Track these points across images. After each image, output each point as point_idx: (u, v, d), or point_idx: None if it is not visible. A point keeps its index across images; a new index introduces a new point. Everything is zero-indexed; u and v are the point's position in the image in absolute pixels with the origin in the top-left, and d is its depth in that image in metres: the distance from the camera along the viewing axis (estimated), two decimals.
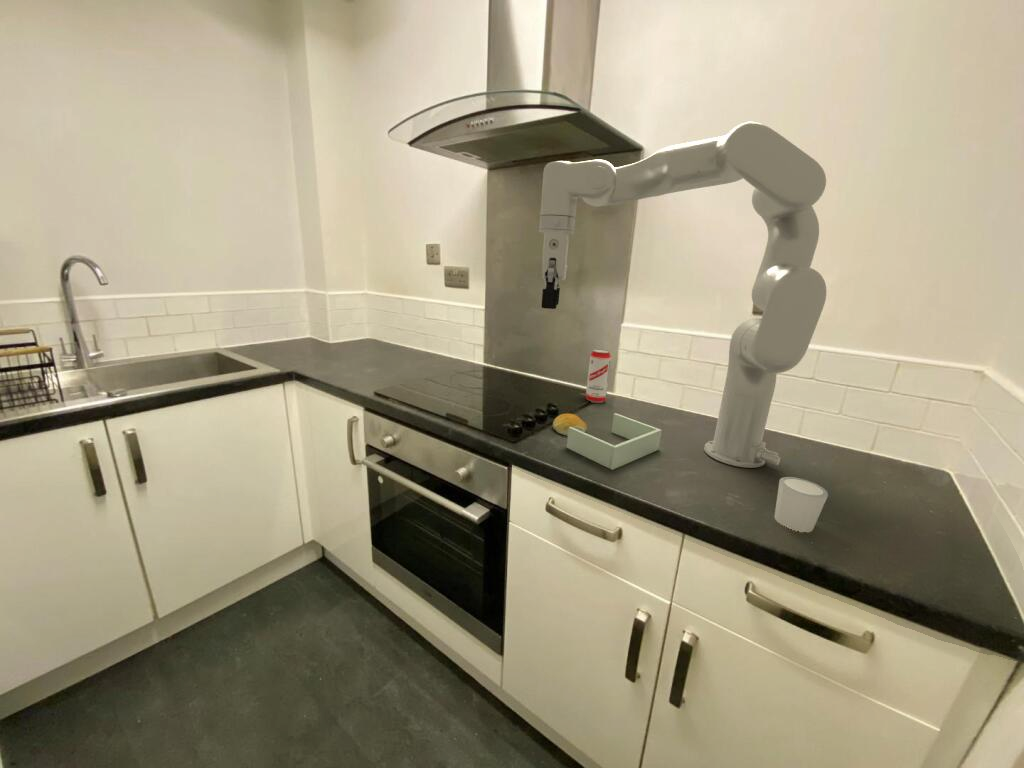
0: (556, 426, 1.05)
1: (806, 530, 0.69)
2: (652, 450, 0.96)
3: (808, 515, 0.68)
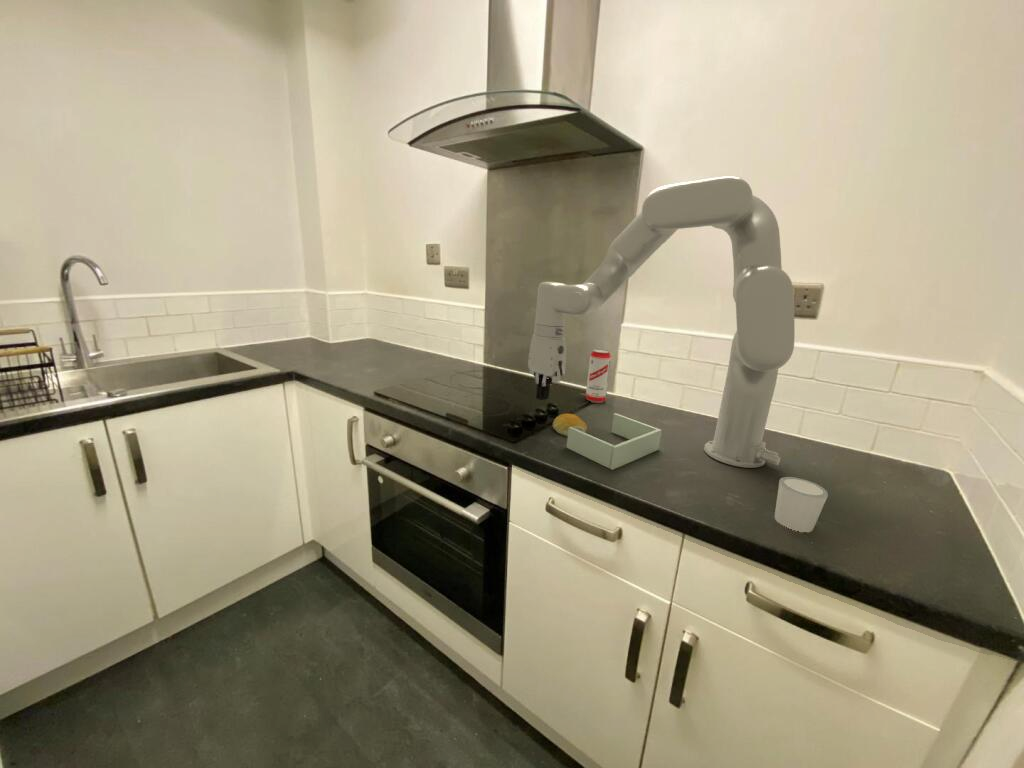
0: (556, 426, 1.04)
1: (806, 530, 0.69)
2: (652, 450, 0.96)
3: (808, 515, 0.68)
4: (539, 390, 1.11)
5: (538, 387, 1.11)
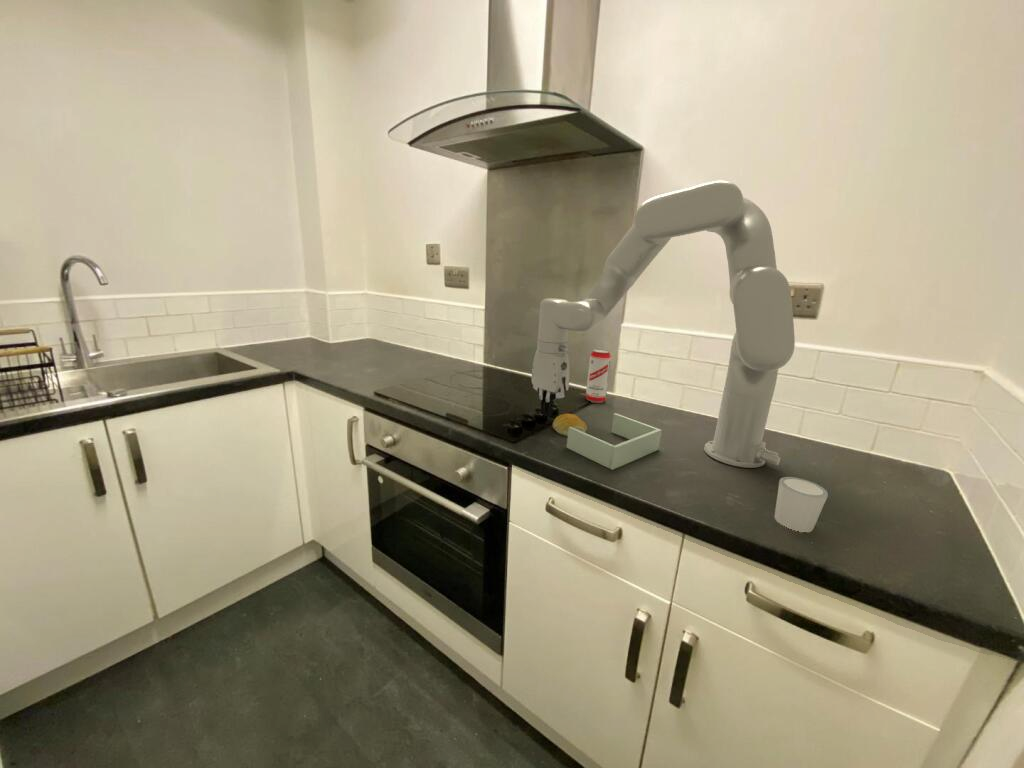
0: (556, 426, 1.04)
1: (806, 530, 0.69)
2: (652, 450, 0.96)
3: (808, 515, 0.68)
4: (543, 406, 1.11)
5: (542, 403, 1.11)
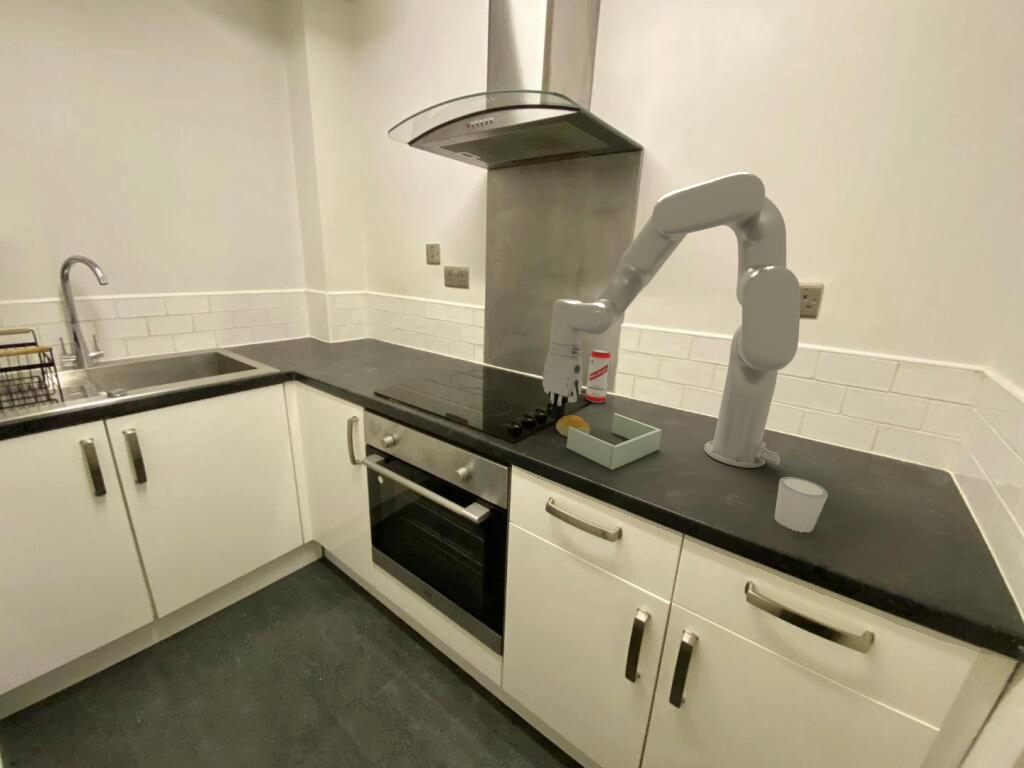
0: (559, 428, 1.03)
1: (806, 530, 0.69)
2: (652, 450, 0.96)
3: (808, 515, 0.68)
4: (554, 410, 1.08)
5: (553, 407, 1.08)
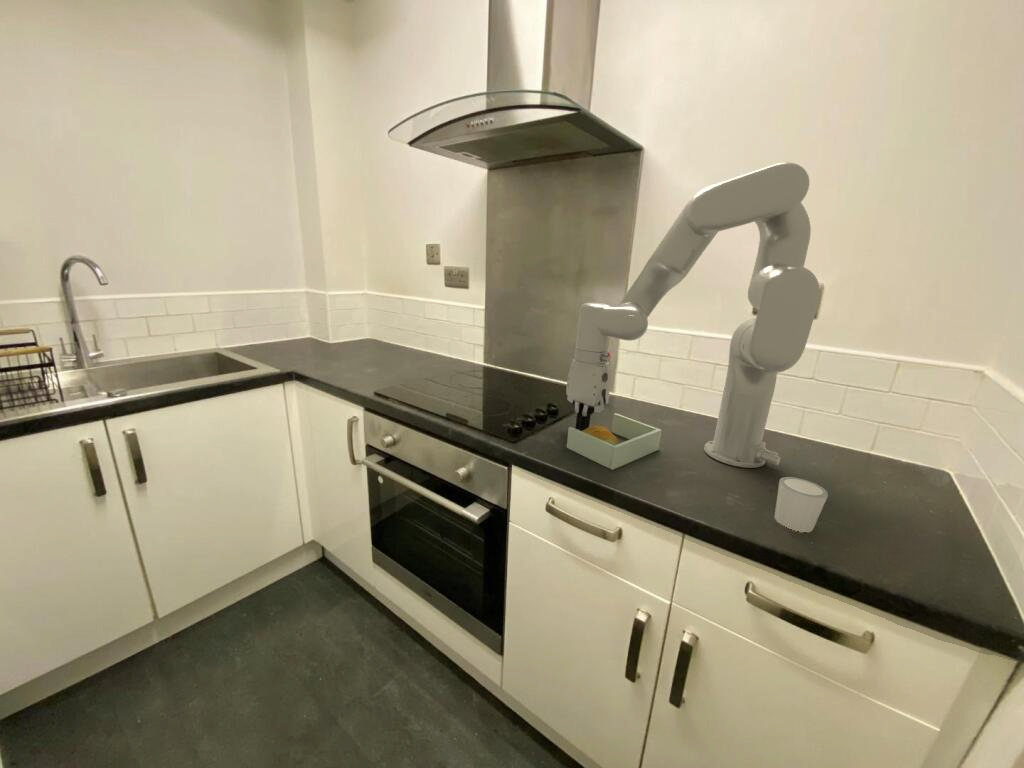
0: None
1: (806, 530, 0.69)
2: (652, 450, 0.96)
3: (808, 515, 0.68)
4: (579, 420, 1.01)
5: (578, 417, 1.02)
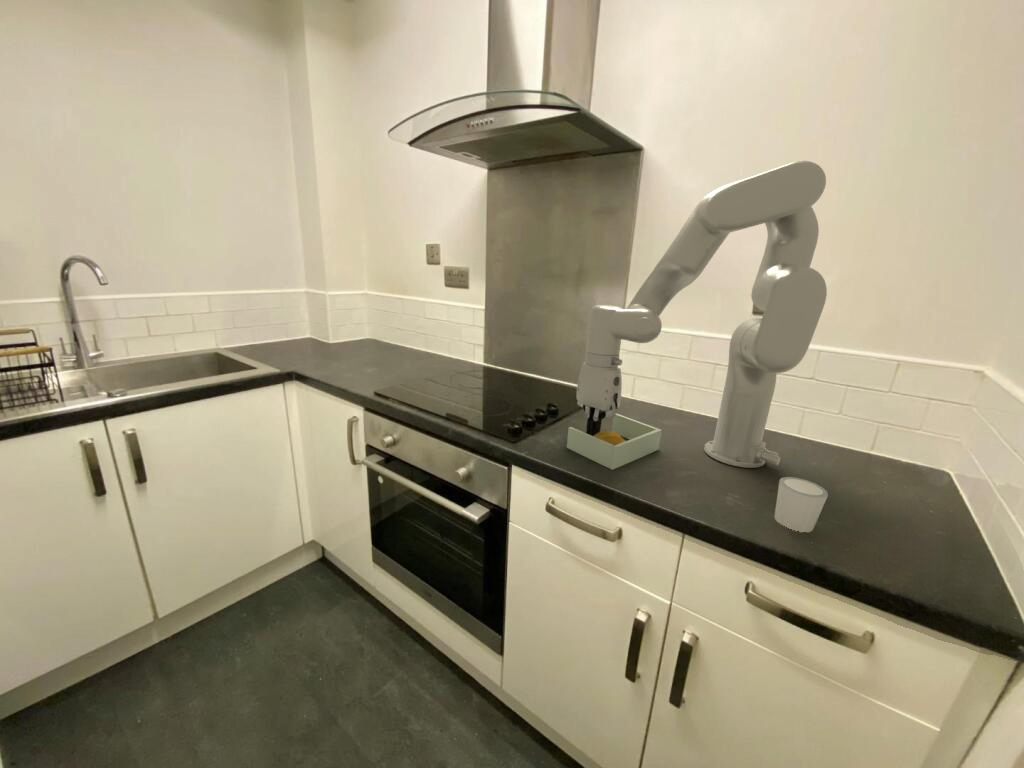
0: None
1: (806, 530, 0.69)
2: (652, 450, 0.96)
3: (808, 515, 0.68)
4: (590, 425, 0.99)
5: (589, 422, 0.99)
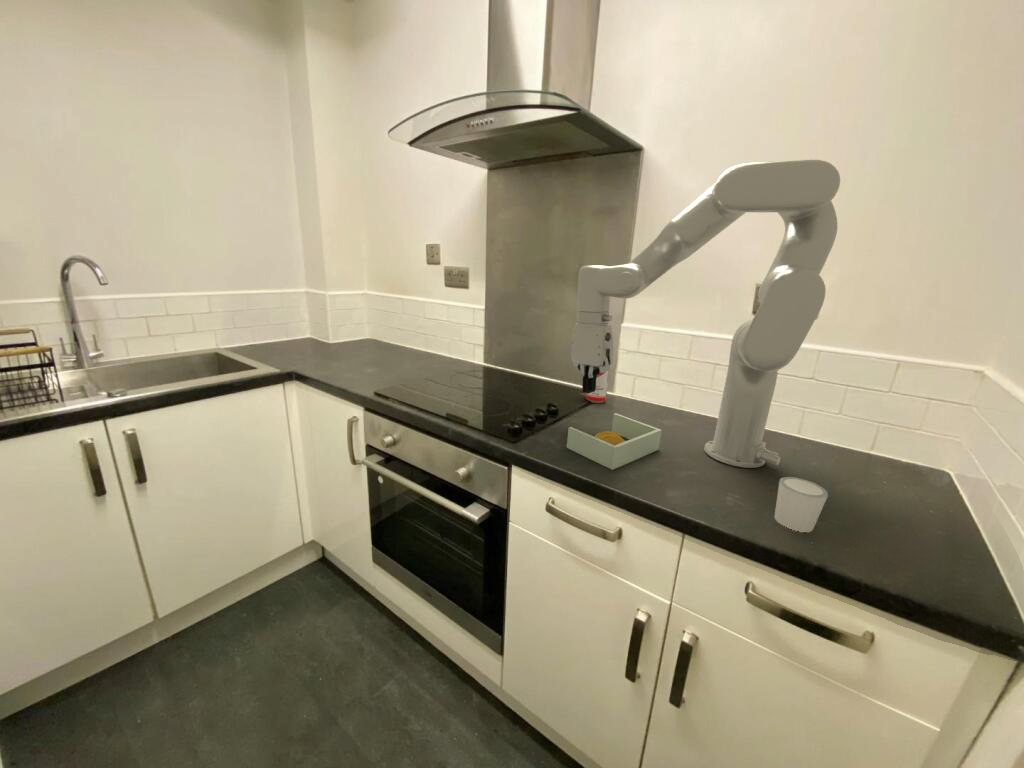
0: None
1: (806, 530, 0.69)
2: (652, 450, 0.96)
3: (808, 515, 0.68)
4: (585, 383, 1.03)
5: (584, 379, 1.04)
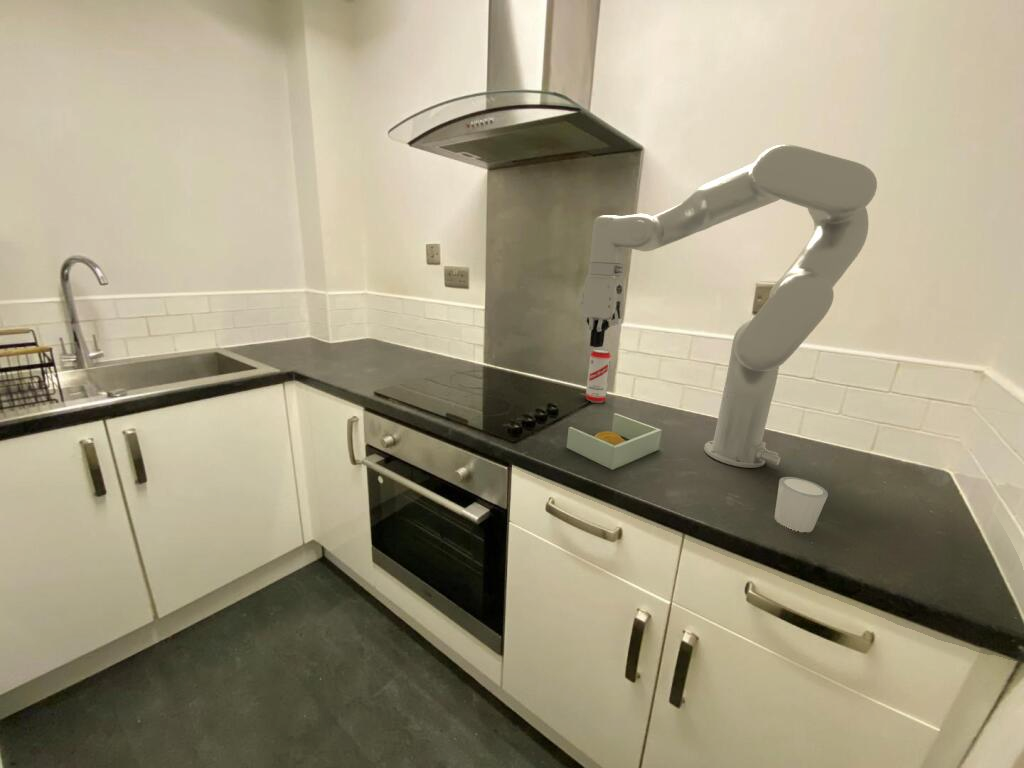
0: None
1: (806, 530, 0.69)
2: (652, 450, 0.96)
3: (808, 515, 0.68)
4: (594, 336, 1.04)
5: (592, 333, 1.04)
